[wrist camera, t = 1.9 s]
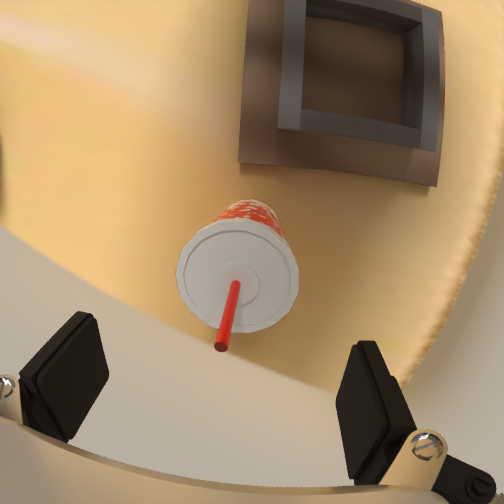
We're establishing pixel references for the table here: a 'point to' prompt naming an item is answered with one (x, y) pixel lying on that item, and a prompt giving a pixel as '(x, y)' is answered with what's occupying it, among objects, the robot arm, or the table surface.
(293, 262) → the beverage cup
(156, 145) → the table surface
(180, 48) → the table surface
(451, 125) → the table surface
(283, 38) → the socket board
